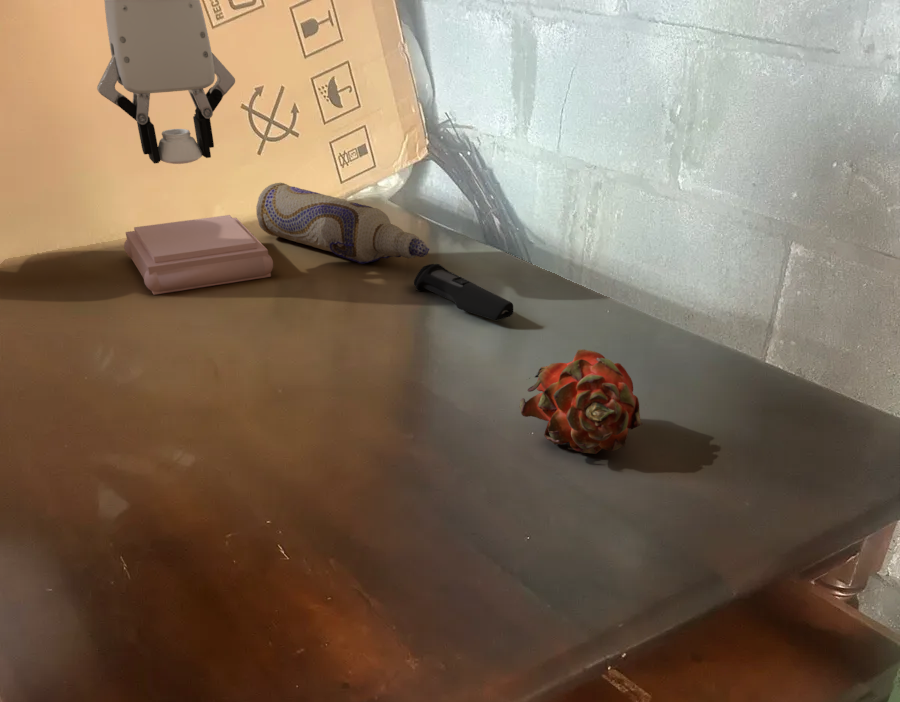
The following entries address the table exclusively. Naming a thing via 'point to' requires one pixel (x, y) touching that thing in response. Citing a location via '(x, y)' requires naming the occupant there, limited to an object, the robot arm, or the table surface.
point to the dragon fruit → (585, 403)
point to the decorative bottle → (334, 225)
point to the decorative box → (196, 254)
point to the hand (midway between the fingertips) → (179, 156)
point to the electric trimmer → (463, 292)
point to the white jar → (178, 147)
